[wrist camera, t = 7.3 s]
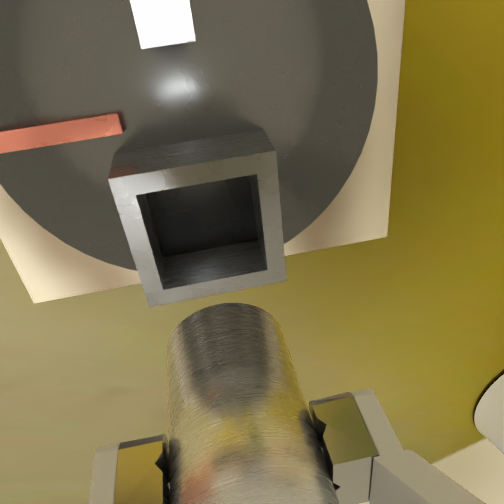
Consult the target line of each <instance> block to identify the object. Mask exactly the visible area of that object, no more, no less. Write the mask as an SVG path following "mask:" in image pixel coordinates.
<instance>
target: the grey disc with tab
mask: <svg viewBox="0 0 504 504" xmlns="http://www.w3.org/2000/svg"><path fill="white" fill-rule="evenodd" d="M377 83H378V53H377V46H376V38H375V31H374V25H373V21H372V17H371V13H370V9H369V6H368V2H367V0H0V184H1V186H2V187H3V188H4V190H5V191H6V192H7V194H8V195H9V196H10V197H11V198H12V199H13V200H14V201H15V202H16V203H17V204H18V205H19V207H20V208H21V209H22V210H23V211H24V212H25V213H26V214H27V215H29V216H30V217H31V218H32V219H33V220H34V221H36V222H37V223H38V224H39V225H40V226H41V227H43V228H44V229H45V230H47V231H48V232H49V233H51V234H52V235H54V236H55V237H57V238H58V239H60V240H61V241H63V242H64V243H66V244H68V245H69V246H71V247H73V248H75V249H77V250H79V251H81V252H82V253H84V254H86V255H89V256H91V257H94V258H96V259H98V260H101V261H103V262H106V263H109V264H112V265H116V266H119V267H122V268H126V269H129V270H135V271H138V274H139V278H140V281H141V284H142V287H143V290H144V293H145V296H146V299H147V302H148V305H149V307H153V306H159V305H164V304H169V303H174V302H179V301H185V300H190V299H195V298H200V297H205V296H211V295H216V294H221V293H226V292H231V291H236V290H242V289H247V288H252V287H257V286H262V285H268V284H273V283H278V282H283V281H287V279H286V266H285V254H284V244H285V243H287V242H289V241H290V240H292V239H293V238H294V237H296V236H297V235H298V234H299V233H301V232H302V231H303V230H305V229H306V228H307V227H308V226H309V225H311V224H312V223H313V222H314V221H315V220H316V219H317V218H318V217H319V216H320V215H321V214H322V213H323V212H324V211H325V210H326V208H327V207H328V206H329V205H330V203H331V202H332V201H333V200H334V199H335V197H336V196H337V195H338V194H339V192H340V190H341V189H342V187H343V186H344V184H345V183H346V181H347V180H348V178H349V177H350V175H351V173H352V171H353V169H354V167H355V165H356V163H357V161H358V159H359V157H360V155H361V153H362V150H363V147H364V144H365V141H366V139H367V136H368V133H369V130H370V126H371V121H372V117H373V113H374V108H375V102H376V92H377Z"/></svg>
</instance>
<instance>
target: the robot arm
mask: <svg viewBox="0 0 504 504" xmlns="http://www.w3.org/2000/svg"><path fill="white" fill-rule="evenodd" d="M309 412H310V415H311V418H312V422H313V425H314V428H315V431H316V434H317V437H318V440H319V443H320V446H321V449H322V452H323V455H324V458H325V461H326V464H327V467H328V470H329V473H330V476H331V479H332V482H333V485H334V488H335V491H336V494H337V497H338V500H339V503H340V504H359V503H363V502H368V501H370V502H369V503H370V504H486V503H484V502H483V501H481V500H480V499H478V498H477V497H476V496H474V495H473V494H471V493H470V492H469V491H467V490H466V489H465V488H463V487H462V486H461V485H459V484H458V483H456V482H455V481H454V480H452V479H451V478H449V477H448V476H447V475H445V474H444V473H443V472H441V471H440V470H438V469H437V468H436V467H434V466H433V465H431V464H430V463H429V462H427V461H426V460H424V459H423V458H422V457H420V456H419V455H418V454H416V453H415V452H413V451H412V450H411V449H407V450H403V448H402V446H401V444H400V442H399V440H398V438H397V436H396V434H395V432H394V430H393V428H392V426H391V424H390V422H389V420H388V418H387V416H386V414H385V412H384V410H383V408H382V406H381V404H380V402H379V400H378V398H377V396H376V394H375V392H374V391H373V390H372V389H371V388H367V389H363V390H358V391H354V392H350V393H349V392H347V393H343V394H338V395H334V396H330V397H326V398H322V399H317V400H313V401H310V402H309ZM474 422H475V426H476V428H477V430H478V431H479V432H480V433H481V434H482V435H484V436H485V437H486V438H487V439H488V440H489V441H491V442H492V443H493V444H494V445H495V446H496V447H497V448H498V449H499V450H500V451H501V452H502V453H503V454H504V374H503V375H502V376H501V377H500V378H499V379H497V380H496V381H495V382H494V383H493V384H492V385H491V387H490V388H489V389H488V390H487V391H486V392H485V394H484V395H483V397H482V398H481V400H480V402H479V403H478V406H477V408H476V411H475V416H474ZM88 504H170V472H169V447H168V440H167V437H166V435H165V434H161V435H156V436H152V437H147V438H142V439H137V440H132V441H127V442H123V443H117V444H112V445H108V446H103V447H99V448H97V451H96V454H95V456H94V464H93V471H92V479H91V487H90V495H89V503H88Z"/></svg>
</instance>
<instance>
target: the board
mask: <svg viewBox="0 0 504 504" xmlns="http://www.w3.org/2000/svg"><path fill="white" fill-rule="evenodd" d="M367 2H368V6H369V9H370V13H371V17H372V21H373V25H374V31H375V38H376V46H377V53H378V83H377V92H376V102H375V108H374V113H373V117H372V121H371V126H370V130H369V133H368V136H367V139H366V141H365V144H364V147H363V150H362V153H361V155H360V157H359V159H358V161H357V163H356V165H355V167H354V169H353V171H352V173H351V175H350V177H349V178H348V180H347V181H346V183H345V184H344V186H343V187H342V189H341V190H340V192H339V194H338V195H337V196H336V197H335V199H334V200H333V201H332V202H331V203H330V205H329V206H328V207H327V208H326V210H325V211H324V212H323V213H322V214H321V215H320V216H319V217H318V218H317V219H316V220H315V221H314V222H313V223H312V224H311V225H309V226H308V227H307V228H306V229H305V230H303V231H302V232H301V233H299V234H298V235H297V236H296V237H294V238H293V239H292V240H290V241H289V242H287V243H285V244H284V254H285V256H288V255H293V254H299V253H304V252H309V251H315V250H320V249H325V248H330V247H336V246H341V245H346V244H352V243H357V242H362V241H368V240H373V239H378V238H383V237H387V231H388V218H389V205H390V192H391V179H392V166H393V153H394V141H395V128H396V115H397V102H398V89H399V76H400V63H401V51H402V38H403V25H404V12H405V0H367ZM0 238H1V240H2V242H3V244H4V246H5V248H6V250H7V252H8V254H9V256H10V258H11V259H12V261H13V263H14V265H15V267H16V269H17V271H18V273H19V275H20V277H21V279H22V281H23V283H24V285H25V287H26V289H27V290H28V292H29V294H30V296H31V298H32V300H33V302H34V303H39V302H44V301H49V300H55V299H60V298H65V297H71V296H76V295H81V294H87V293H92V292H97V291H102V290H108V289H113V288H118V287H124V286H129V285H134V284H140V283H141V281H140V278H139V274H138V271H135V270H129V269H126V268H122V267H119V266H116V265H112V264H109V263H106V262H103V261H101V260H98V259H96V258H94V257H91V256H89V255H86V254H84V253H82V252H81V251H79V250H77V249H75V248H73V247H71V246H69V245H68V244H66V243H64V242H63V241H61V240H60V239H58V238H57V237H55V236H54V235H52V234H51V233H49V232H48V231H47V230H45V229H44V228H43V227H41V226H40V225H39V224H38V223H37V222H36V221H34V220H33V219H32V218H31V217H30V216H29V215H27V214H26V213H25V212H24V211H23V210H22V209H21V208H20V207H19V205H18V204H17V203H16V202H15V201H14V200H13V199H12V198H11V197H10V196H9V195H8V194H7V192H6V191H5V190H4V188H3V187H2V186H1V184H0Z"/></svg>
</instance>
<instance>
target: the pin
mask: <svg viewBox="0 0 504 504" xmlns="http://www.w3.org/2000/svg"><path fill="white" fill-rule="evenodd" d="M167 379H168V425H169V472H170V504H340V503H339V500H338V497H337V494H336V491H335V488H334V485H333V482H332V479H331V476H330V473H329V470H328V467H327V464H326V461H325V458H324V455H323V452H322V449H321V446H320V443H319V440H318V437H317V434H316V431H315V428H314V425H313V422H312V419H311V416H310V413H309V410H308V407H307V404H306V401H305V398H304V395H303V392H302V389H301V386H300V383H299V380H298V377H297V374H296V371H295V368H294V365H293V362H292V359H291V356H290V353H289V350H288V347H287V344H286V341H285V338H284V335H283V332H282V329H281V327H280V325H279V323H278V322H277V320H276V319H275V318H274V317H273V316H272V315H271V314H269V313H268V312H266V311H265V310H263V309H261V308H258V307H256V306H252V305H248V304H242V303H224V304H218V305H214V306H210V307H207V308H204V309H201V310H199V311H197V312H195V313H193V314H192V315H190V316H189V317H187V318H186V319H185V320H183V321H182V322H181V323H180V324H179V325H178V326H177V327H176V329H175V330H174V331H173V333H172V335H171V337H170V339H169V342H168V346H167Z"/></svg>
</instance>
